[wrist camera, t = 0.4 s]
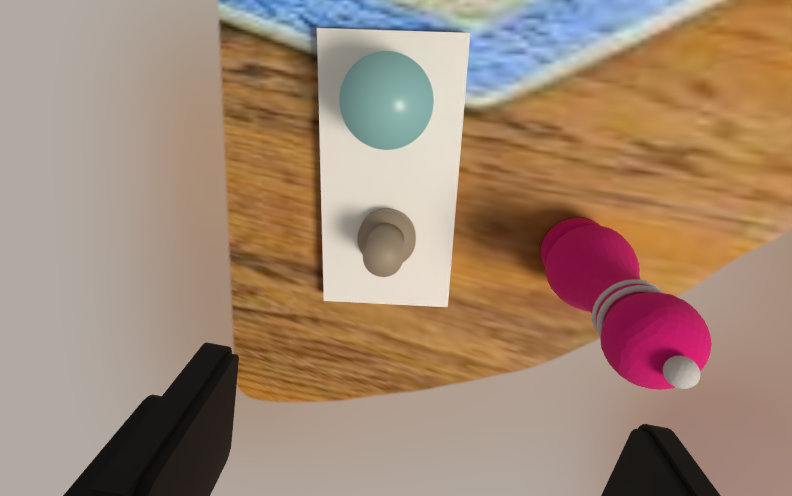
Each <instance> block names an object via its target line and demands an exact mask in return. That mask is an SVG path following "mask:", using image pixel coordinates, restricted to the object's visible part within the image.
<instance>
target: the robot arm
mask: <svg viewBox="0 0 792 496" xmlns="http://www.w3.org/2000/svg"><path fill="white" fill-rule="evenodd" d="M238 362H239V357H238V355H235V354H232V350H231V348H230V347H228V346H222V345H217V344H212V343H204V344H203V345H202V346H201V348H200V349H199V350H198V351H197V353H196V354H195V355H194V357H193V358H192V359H191V360H190V362H189V363H188V364H187V365H186V367H185V368H184V369H183V370H182V372H181V373H180V374H179V375H178V377H177V378H176V379H175V380H174V382H173V383H172V384H171V385H170V387H169V388H168V389H167V391H166V392H165V393H164V394H163V396H157V395H150V396H148V397H147V398H146V399H145V400H143V401H142V403H141V404H140V405H139V406H138V408H137V409H136V410H135V411H134V412H133V413H132V415H131V416H130V417H129V418H128V419H127V420H126V422H125V423H124V424H123V425H122V426H121V428H120V429H119V430H118V431H117V432H116V434H115V435H114V436H113V437H112V438H111V440H110V441H109V442H108V443H107V444H106V445H105V447H104V448H103V449H102V450H101V451H100V453H99V454H98V455H97V456H96V457H95V459H94V460H93V461H92V462H91V463H90V464H89V466H88V467H87V468H86V469H85V470H84V472H83V473H82V474H81V475H80V476H79V478H78V479H77V480H76V481H75V482H74V484H73V485H72V486H71V487H70V488H69V490H68V491H67V492H66V493H65V494H64V495H63V496H210V494H211V492H212V490H213V488H214V486H215V484H216V482H217V480H218V478H219V475H220V473H221V472H222V470H223V468H224V466H225V464H226V461H227V459H228V456H229V452H230V449H231V441H232V430H233V418H234V406H235V396H236V384H237V373H238ZM602 496H720V494H719V493H718V492H717V490H716V489H715V488H714V486H713V485H712V484H711V482H710V481H709V480H708V478H707V477H706V475H705V474H704V473H703V471H702V470H701V469H700V467H699V466H698V465H697V463H696V462H695V461H694V459H693V458H692V456H691V455H690V454H689V452H688V451H687V450H686V448H685V447H684V446H683V444H682V443H681V442H680V440H679V439H678V437H677V436H676V435H675V433H674V432H673V431H672V430H670V429H668V428H664V427H658V426H653V425H648V424H643V425H641V426H639V428H638V429H634V430H633V431H632V432H631V434H630V436H629V438H628V440H627V442H626V444H625V446H624V448H623V451H622V453H621V455H620V457H619V459H618V461H617V463H616V465H615V468H614V470H613V472H612V474H611V476H610V478H609V481H608V483H607V485H606V487H605V489H604V491H603V493H602Z"/></svg>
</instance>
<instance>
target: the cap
mask: <svg viewBox="0 0 792 496" xmlns="http://www.w3.org/2000/svg"><path fill="white" fill-rule="evenodd" d="M339 103H340V110H341V115H342V118H343V120H344V122H345V124H346V126H347V128H348V129H349V131H350V132H351V133H352V134H353V135H354V136H355V137H356V138H357V139H358V140H359V141H361V142H362V143H364V144H366V145H368V146H370V147H373V148H376V149H382V150H392V149H398V148H401V147H404V146H406V145H408V144H410V143H412V142H413V141H414V140H416V139H417V138H418V137H419V136H420V135H421V134H422V133H423V131H424V130H425V129H426V127H427V125H428V123H429V121H430V118H431V116H432V112H433V105H434V97H433V90H432V86H431V83H430V81H429V78H428V77H427V75H426V73H425V72H424V70H423V69H422V68H421V67H420V65H419V64H418V63H416V62H415V61H414V60H413V59H411V58H409V57H408V56H406V55H404V54H401V53H398V52H393V51H379V52H374V53H371V54H368V55H366V56H364V57H363V58H361V59H360V60H358V61H357V62H356V63H355V64H354V65H353V66H352V67H351V68H350V69H349V71H348V72H347V74H346V75H345V78H344V80H343V82H342V85H341V89H340V97H339Z"/></svg>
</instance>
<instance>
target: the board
mask: <svg viewBox="0 0 792 496" xmlns="http://www.w3.org/2000/svg"><path fill="white" fill-rule="evenodd" d="M469 41H470V33H455V32H425V31H394V30H364V29H333V28H317V55H318V94H319V133H320V172H321V211H322V250H323V289H324V301H340V302H359V303H379V304H398V305H417V306H436V307H448V295H449V283H450V271H451V259H452V247H453V235H454V223H455V211H456V199H457V187H458V174H459V162H460V150H461V138H462V126H463V114H464V102H465V90H466V78H467V65H468V53H469ZM379 51H393V52H398V53H401V54H404V55H406V56H408V57H409V58H411V59H413V60H414V61H415V62H416V63H418V64H419V65H420V67H421V68H422V69H423V70H424V72H425V73H426V75H427V77H428V78H429V81H430V83H431V86H432V90H433V97H434V105H433V112H432V116H431V118H430V121H429V123H428V125H427V127H426V129H425V130H424V131H423V133H422V134H421V135H420V136H419V137H418V138H417V139H416V140H414V141H413V142H412V143H410V144H408V145H406V146H404V147H401V148H398V149H392V150H382V149H376V148H373V147H370V146H368V145H366V144H364V143H362V142H361V141H359V140H358V139H357V138H356V137H355V136H354V135H353V134H352V133H351V132H350V131H349V129H348V128H347V126H346V124H345V122H344V120H343V118H342V115H341V110H340V103H339V97H340V89H341V85H342V82H343V80H344V78H345V75H346V74H347V72H348V71H349V69H350V68H351V67H352V66H353V65H354V64H355V63H356V62H357V61H358V60H360V59H361V58H363V57H364V56H366V55H368V54H371V53H374V52H379Z"/></svg>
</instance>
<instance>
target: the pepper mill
mask: <svg viewBox="0 0 792 496" xmlns="http://www.w3.org/2000/svg"><path fill="white" fill-rule="evenodd" d="M540 253H541V260H542V263H543V265H544V266H545V270H546V276H547V280H548V283H549V284H550V286H551V288H552V289H553V291H554V292H555V293H556V294H557V295H558V296H559V297H560V299H562V300H563V301H564V302H566V303H567V304H569V305H571V306H573V307H575V308H578V309H581V310H584V311H589V312H591V313H592V321H593V325H594V327H595V329H596V331H597V332H598V333H599V335H600V337H601V347H602V350H603V352H604V355H605V357H606V359H607V361H608V362H609V364H610V365H611V366H612V367H613V369H615V371H616V372H617V373H618V374H619V375H620V376H622V377H623V378H625V379H626V380H628V381H629V382H631V383H633V384H635V385H638V386H641V387H645V388H650V389H660V390H661V389H670V388H674V387H677V388H681V389H686V388H690V387H693V386H694V385H696V384H697V383H698V381H699V379H700V371H701V370H702V369H703V367H704V366H705V364H706V363H707V361H708V358H709V355H710V350H711V337H710V333H709V330H708V327H707V325H706V323H705V321H704V320H703V318H702V317H701V316H700V315H699V313H698V312H697V311H696V310H695V309H694V308H693V307H692V306H691V305H690V304H688V303H687V302H685V301H684V300H682V299H680V298H677V297H675V296H673V295H670V294H665V293H664V292H662V291H661V290H660V288H658V287H657V286H656V285H654V284H652V283H650V282H647V281H644V280H640V276H639V263H638V260H637V257H636V255H635V252H634V250H633V248H632V247H631V245H630V244H629V243H628V242H627V241H626V240H625V239H624V238H623V237H622V235H620V234H619V233H617V232H616V231H614V230H612V229H609V228H607V227H603V226H600V225H599V224H598V223H596V222H594V221H592V220H590V219H586V218H571V219H567V220H564V221H562V222H560V223H558V224H556V225H555V226H554V227H552V228H551V229H550V230H549V231H548V233H547V234H546V236H545V237H544V239H543V241H542V244H541V251H540Z"/></svg>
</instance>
